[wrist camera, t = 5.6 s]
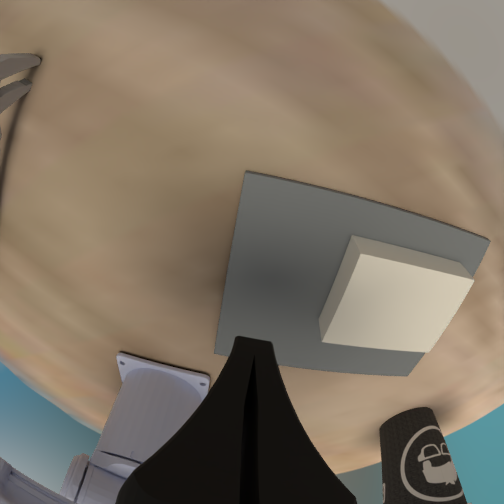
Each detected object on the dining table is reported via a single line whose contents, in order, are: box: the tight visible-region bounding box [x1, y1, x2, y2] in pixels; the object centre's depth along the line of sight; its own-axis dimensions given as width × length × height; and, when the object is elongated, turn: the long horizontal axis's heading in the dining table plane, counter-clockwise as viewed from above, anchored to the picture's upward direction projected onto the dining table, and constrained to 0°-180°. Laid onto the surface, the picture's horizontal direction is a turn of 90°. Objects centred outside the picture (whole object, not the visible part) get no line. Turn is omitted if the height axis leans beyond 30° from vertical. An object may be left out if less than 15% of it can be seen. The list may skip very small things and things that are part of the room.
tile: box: [319, 235, 475, 353], centre depth 16 cm, size 6×2×8 cm
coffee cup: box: [380, 408, 472, 504], centre depth 19 cm, size 10×10×15 cm
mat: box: [214, 171, 491, 376], centre depth 18 cm, size 13×16×1 cm
